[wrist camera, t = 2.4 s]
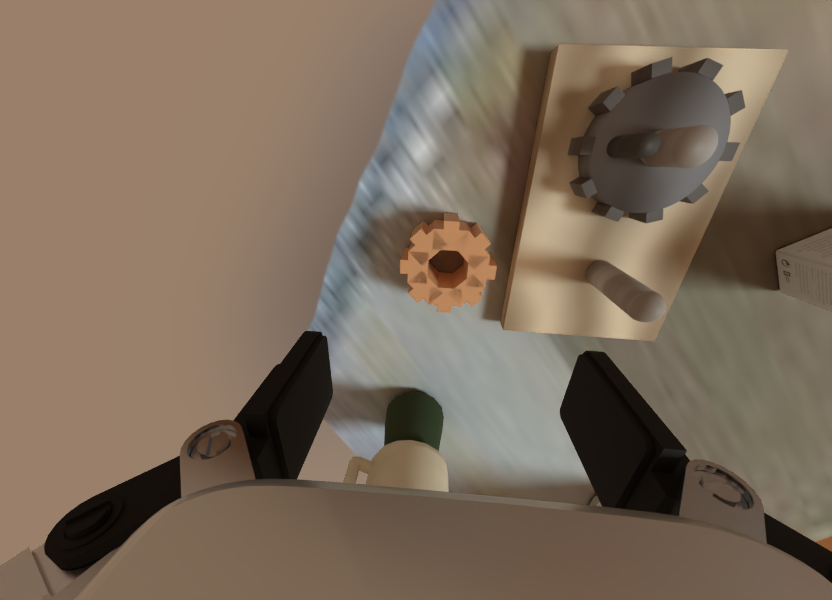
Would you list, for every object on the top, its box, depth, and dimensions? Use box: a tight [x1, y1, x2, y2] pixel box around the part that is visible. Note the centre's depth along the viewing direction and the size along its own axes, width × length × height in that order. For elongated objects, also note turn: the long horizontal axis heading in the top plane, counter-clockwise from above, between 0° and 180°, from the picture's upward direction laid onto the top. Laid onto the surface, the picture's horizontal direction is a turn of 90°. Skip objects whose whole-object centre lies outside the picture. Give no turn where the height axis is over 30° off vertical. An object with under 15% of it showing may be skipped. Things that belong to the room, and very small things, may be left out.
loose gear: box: [400, 213, 497, 313], centre depth 24 cm, size 7×7×4 cm
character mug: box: [343, 393, 449, 492], centre depth 28 cm, size 11×7×13 cm, turn 63°
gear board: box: [500, 44, 789, 341], centre depth 19 cm, size 13×20×8 cm, turn 178°
